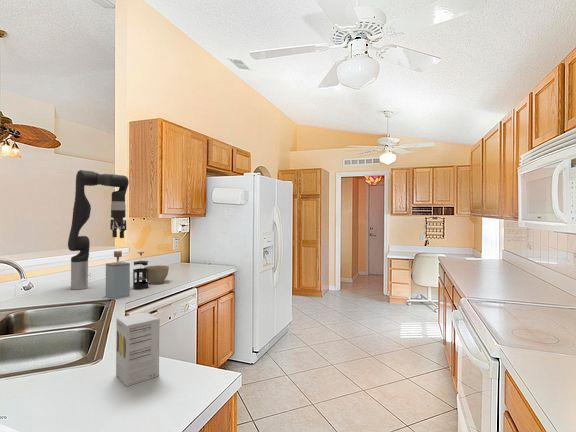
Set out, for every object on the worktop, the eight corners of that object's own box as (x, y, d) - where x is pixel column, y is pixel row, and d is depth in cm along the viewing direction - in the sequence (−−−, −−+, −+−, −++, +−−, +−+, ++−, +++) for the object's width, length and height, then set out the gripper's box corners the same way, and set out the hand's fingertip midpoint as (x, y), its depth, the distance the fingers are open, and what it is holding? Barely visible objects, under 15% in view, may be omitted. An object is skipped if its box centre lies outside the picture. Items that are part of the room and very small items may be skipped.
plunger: (109, 293, 186) (110, 251, 187) (120, 291, 191) (120, 250, 191) (114, 295, 183) (115, 252, 183) (125, 293, 188) (125, 251, 188)
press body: (105, 296, 186) (105, 263, 186) (121, 293, 194) (122, 261, 194) (113, 299, 181) (113, 265, 181) (129, 296, 188) (129, 263, 188)
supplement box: (115, 375, 95) (115, 317, 95) (147, 365, 101) (147, 311, 101) (126, 387, 88) (126, 325, 88) (160, 375, 95) (160, 318, 95)
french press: (144, 289, 204) (145, 253, 204) (129, 289, 204) (129, 253, 204) (151, 285, 216) (152, 251, 216) (137, 285, 215) (137, 251, 215)
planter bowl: (148, 286, 214) (148, 269, 214) (140, 282, 227) (140, 266, 227) (172, 283, 225) (172, 267, 225) (164, 279, 237) (164, 264, 237)
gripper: (105, 209, 188) (105, 237, 188) (117, 209, 180) (117, 238, 180) (119, 209, 194) (118, 236, 194) (131, 209, 186) (130, 238, 186)
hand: (118, 237), depth 187 cm, fingers open, 8 cm apart
